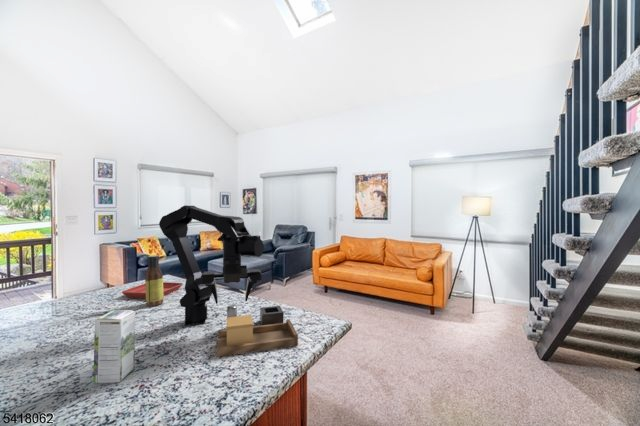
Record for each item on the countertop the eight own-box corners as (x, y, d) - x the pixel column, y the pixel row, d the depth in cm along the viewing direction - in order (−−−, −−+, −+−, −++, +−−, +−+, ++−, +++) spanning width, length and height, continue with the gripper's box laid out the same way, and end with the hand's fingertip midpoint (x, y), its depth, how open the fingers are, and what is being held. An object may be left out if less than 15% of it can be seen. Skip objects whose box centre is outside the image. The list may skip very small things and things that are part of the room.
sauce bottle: (166, 302, 117) (167, 254, 116) (156, 307, 110) (156, 257, 110) (152, 301, 117) (152, 254, 117) (141, 306, 111) (141, 256, 111)
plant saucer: (149, 287, 139) (149, 281, 139) (183, 289, 137) (184, 282, 137) (120, 299, 121) (120, 291, 121) (159, 301, 119) (159, 293, 119)
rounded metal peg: (227, 330, 90) (227, 308, 90) (227, 326, 93) (227, 305, 93) (236, 328, 91) (236, 307, 91) (236, 325, 94) (236, 304, 93)
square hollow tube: (262, 328, 91) (262, 314, 91) (260, 320, 98) (260, 307, 98) (283, 325, 93) (283, 312, 93) (279, 318, 100) (279, 305, 100)
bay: (216, 357, 73) (216, 345, 73) (218, 337, 85) (218, 327, 85) (297, 345, 80) (297, 334, 80) (289, 328, 92) (289, 319, 92)
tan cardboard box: (226, 349, 76) (226, 326, 76) (226, 337, 83) (226, 317, 83) (253, 345, 79) (253, 323, 79) (251, 334, 85) (251, 314, 85)
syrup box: (110, 369, 67) (110, 309, 67) (135, 368, 68) (135, 309, 68) (92, 384, 61) (93, 319, 61) (121, 383, 62) (121, 318, 62)
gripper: (198, 260, 81) (198, 313, 81) (263, 257, 87) (263, 307, 87) (202, 254, 92) (202, 301, 92) (260, 252, 97) (259, 296, 97)
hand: (231, 302), depth 92 cm, fingers open, 9 cm apart
